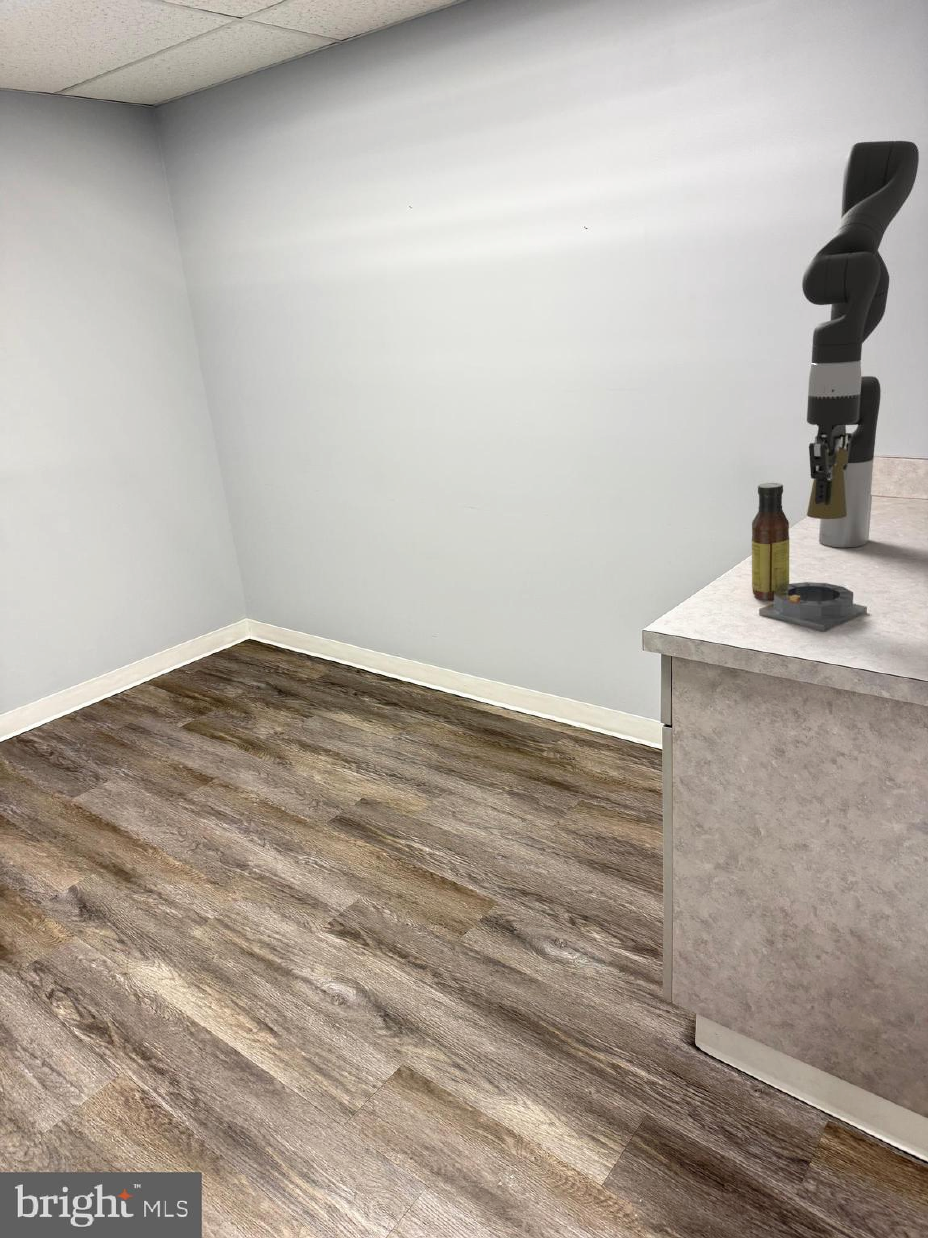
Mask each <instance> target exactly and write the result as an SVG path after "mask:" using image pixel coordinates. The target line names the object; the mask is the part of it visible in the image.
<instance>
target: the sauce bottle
mask: <svg viewBox="0 0 928 1238" xmlns="http://www.w3.org/2000/svg"><path fill="white" fill-rule="evenodd" d="M757 493H758V511H757V514H756V515H755V517H754V518H753V519H752V522H751V532H752V533H751V534H752V536H751V587H752V594H753V596H754V597H755V598H757V599H759V600H767V601H774V593H775V590H776V588H779V587H781V586H784V585H786V584H790V527H789V526H790V522H789V520H788V518H787V517H786V514H785V512H784V510H783V505H782V503H783V501H782V500H783V493H784V484H782V483H780V482H764V483H760V484H759V485H757Z"/></svg>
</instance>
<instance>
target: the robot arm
mask: <svg viewBox="0 0 928 1238" xmlns="http://www.w3.org/2000/svg"><path fill="white" fill-rule="evenodd" d="M919 156H920V154H919V148H918V145H917V144H916V143H915V142H913V141H908V140H907V141H906V140H883V141H882V140H881V141H880V140H879V141H878V140H877V141H862V142H857V143H854V144H853V145H852V146H851V147H850V149H849V150H848V153H847V156H846V160H845V163H844V164H845V165H844V170H843V179H842V180H843V181H842V194H841V195H842V197H841V198H842V199H841V212H840V213H841V217H840V220H839V223H838V224H837V226H836V229H835V231H834V233H833V236H832V238H831V239H830V240H829V241H828V242H826V244H825V245H823V247H821V248H820V249H819V250H818V251H817V252H816V254H814V256H812V257H811V259H810V261H809V262H808V264H807V266H806V267H805V270H804V273H803V275H802V281H801V283H802V286H801V288H802V293H803V295H804V297H805V299H806V300H807V301H808V302H810V303H811V304H813V305H816V306H829V305H831V309H830V320H829V321H825V322H820V323H819V324H817V325H816V326H815V328H814V330H813V335H812V347H811V348H812V350H811V366H810V373H809V377H808V392H807V409H806V410H807V411H806V422H807V424H808V425H812V426H815V425H816V426H817V427H818V429H817V433H816V436H815V437H814V442H810V443H809V446H808V454H809V468H810V469H809V470H810V479H812V480H814V479H815V481H816V495H815V503H816V504H819V503H822V502H824V503H825V505H828V504H829V503H830V496H831V486H832V479H833V471H834V467H835V466H837V458H838V453H839V450H840V448H841V447H843V448H845V449H846V451H847V453H848V460H847V463H846V465H845V466H844V467H843V471H844V484H845V498H846V512H847V516H846V517H843V518H838V519H820V520H819V534H818V535H819V537H818V542H819V543H820V544H822V545H824V546H829V547H834V548H856V547H862V546H865V545H866V544H867V543H868V540H869V537H870V529H871V528H870V526H871V515H872V514H871V513H872V501H873V500H872V499H873V495H872V486H873V485H872V482H873V468H874V459H875V448H876V446H875V445H876V435H877V425H878V421H879V412H880V406H881V397H882V396H881V391H882V390H881V383H880V381H879V379H878V378H877V377H876V376H872V375H866V376H862V365H861V364H862V361H861V360H862V350H863V348H862V347H863V343H864V342H865V341H866V340H867V339H868V338H869V336H870V335H871V334H872V333H873V332H874V331H875V330H876V328H877V327H878V325H879V324H880V322H881V321H882V319H883V317H884V315H885V313H886V306H887V300H888V294H889V293H888V292H889V286H890V274H889V271H888V268H887V266H886V263H885V262H884V260H883V257H882V255H881V253H880V252H879V249H880V245H881V243H882V241H883V237H884V234H885V232H886V230H887V229H888V227H889V225H890V224H891V222H892V221H893V219H894V218H895V217H896V216H897V215H898V213H899V211H900V210H901V208H902V207H903V206H904V204H905V203H906V201H907V199H908V198H909V197H910V194H911V193H912V191H913V188H914V185H915V183H916V178H917V173H918V169H919V161H920V160H919V159H920V158H919ZM846 426H857V427H856V429H855V430H854V431H853V432H847V429H846V428H847V427H846ZM833 453H834V454H833ZM832 455H833V459H832V460H831V461H828V456H832ZM821 466H822V467H823V471H821Z"/></svg>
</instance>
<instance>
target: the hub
mask: <svg viewBox="0 0 928 1238" xmlns="http://www.w3.org/2000/svg"><path fill="white" fill-rule="evenodd" d="M758 611H759V612H758V615H759V616H763V617H767V618H771V619H774V620H777V621H782V622H784V623H785V622H786V623H789V624H793V625H796V626H801V627H805V628H809V629H811V630H816V631H820V632H823V633H825V632H826V631H829V630H831V629H833V628H836V627H838V626H840V625H843V624H844V623H847V622H849V621H852V620H853V619H855V618H857V617H860V616H863V615H864V614H868V613H867V612H868V606H865V605H862V604H861V605H860V604H857V603H854V592H853V591H851V590H849V589H848V588H846V587H845V586H840V585H836V584H831V583H828V582H827V583H826V582H811V581H804V582H796V583H795V582H794V583H789V584H786V585H784V586H781V587H779V588H776V590H775V593H774V600H773V602H772V603H771V604H768V605H766V606H763V607H761V608H759V610H758Z"/></svg>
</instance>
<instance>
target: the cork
mask: <svg viewBox="0 0 928 1238" xmlns="http://www.w3.org/2000/svg"><path fill="white" fill-rule="evenodd" d="M833 454H834V453H833ZM832 459H833V455H832V456H828V461H831V460H832ZM847 460H848V453H847V451H846V449H845V448H843V447H841V448H840V450H839V453H838V458H837V466H835V467H834V471H833V479H832V486H831V496H830V503H829V504H828V505H825V503H824V502H822V503H819V504H816V503H815V495H816V481H815V479H812V480H813V481H812V486H811V491H810V495H809V496H810V497H809V502H808V507H807V512H806V516H807V517H808V518H811V519H812V518H813V519H817V520H818V519H838V518H843V517H846V516H847V512H846V498H845V484H844V471H843V467H844V466H845V465H846V463H847ZM821 471H823V467H822V466H821Z"/></svg>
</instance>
